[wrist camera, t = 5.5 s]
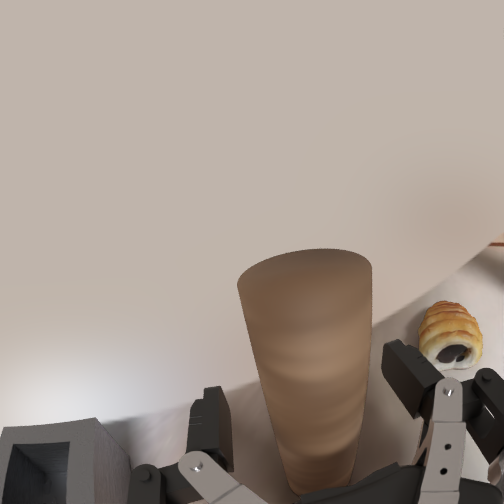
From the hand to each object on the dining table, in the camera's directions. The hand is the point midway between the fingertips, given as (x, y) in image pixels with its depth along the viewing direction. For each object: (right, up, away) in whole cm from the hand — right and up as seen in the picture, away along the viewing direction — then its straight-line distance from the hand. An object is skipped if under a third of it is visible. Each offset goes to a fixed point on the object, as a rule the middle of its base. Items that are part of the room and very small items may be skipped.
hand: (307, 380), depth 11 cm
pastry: (+16, -3, +8) cm, 18 cm away
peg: (+2, -8, 0) cm, 8 cm away
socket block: (-15, -12, -3) cm, 19 cm away
